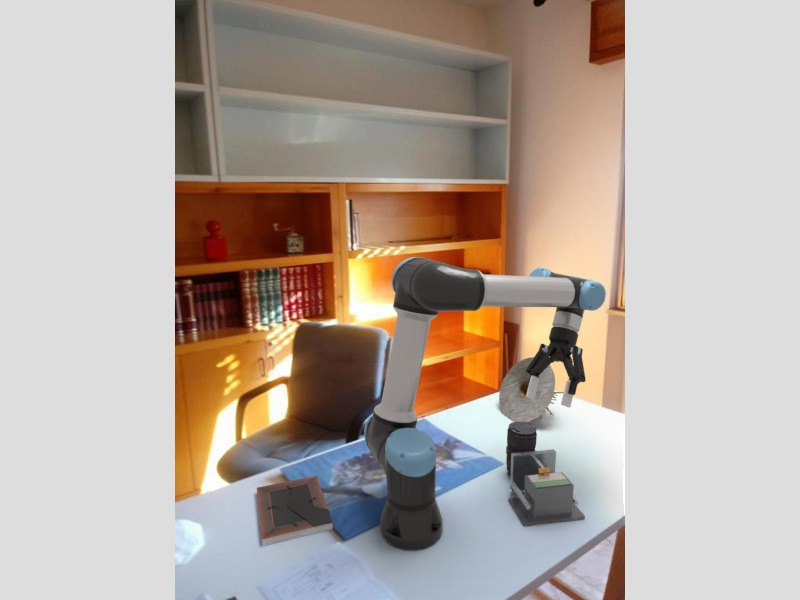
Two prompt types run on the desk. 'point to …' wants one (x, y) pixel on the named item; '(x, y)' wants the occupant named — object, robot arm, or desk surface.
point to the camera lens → (519, 440)
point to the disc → (516, 390)
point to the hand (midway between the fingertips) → (546, 402)
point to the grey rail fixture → (531, 469)
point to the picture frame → (292, 510)
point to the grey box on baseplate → (547, 500)
